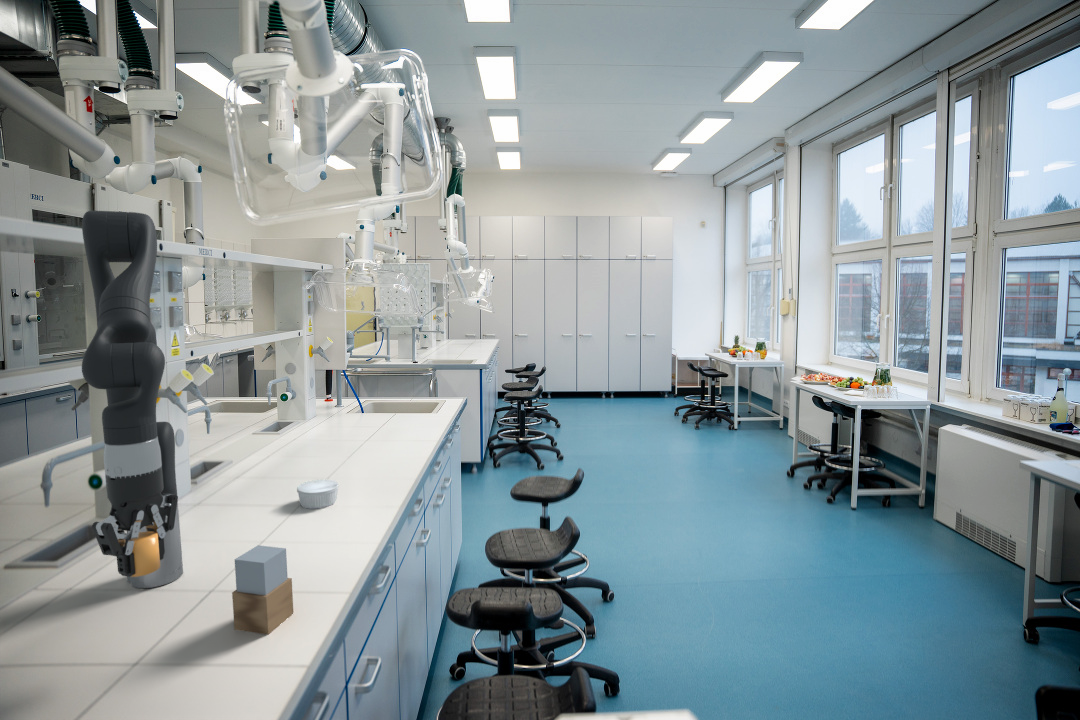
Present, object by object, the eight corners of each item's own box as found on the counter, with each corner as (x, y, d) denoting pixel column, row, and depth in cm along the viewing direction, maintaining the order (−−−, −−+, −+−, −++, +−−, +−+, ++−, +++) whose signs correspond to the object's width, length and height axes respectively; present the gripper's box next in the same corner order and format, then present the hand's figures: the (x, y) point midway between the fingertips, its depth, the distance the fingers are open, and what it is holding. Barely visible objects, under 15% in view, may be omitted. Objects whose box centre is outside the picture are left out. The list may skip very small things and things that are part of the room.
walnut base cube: (234, 629, 106) (232, 592, 105) (261, 609, 113) (259, 574, 112) (268, 634, 104) (266, 597, 104) (293, 613, 111) (291, 578, 110)
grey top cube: (236, 591, 105) (234, 559, 105) (259, 575, 111) (257, 545, 111) (265, 595, 104) (263, 562, 103) (287, 579, 110) (286, 548, 109)
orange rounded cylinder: (117, 574, 95) (114, 542, 95) (143, 561, 100) (141, 530, 99) (142, 578, 94) (139, 545, 93) (167, 564, 99) (164, 533, 98)
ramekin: (324, 512, 162) (323, 493, 161) (288, 508, 164) (288, 490, 164) (347, 498, 173) (346, 480, 172) (313, 495, 175) (312, 477, 175)
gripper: (152, 452, 102) (160, 546, 105) (70, 479, 89) (81, 586, 91) (189, 456, 101) (196, 550, 103) (111, 483, 87) (121, 592, 89)
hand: (142, 566), depth 97 cm, fingers closed on orange rounded cylinder, 4 cm apart
